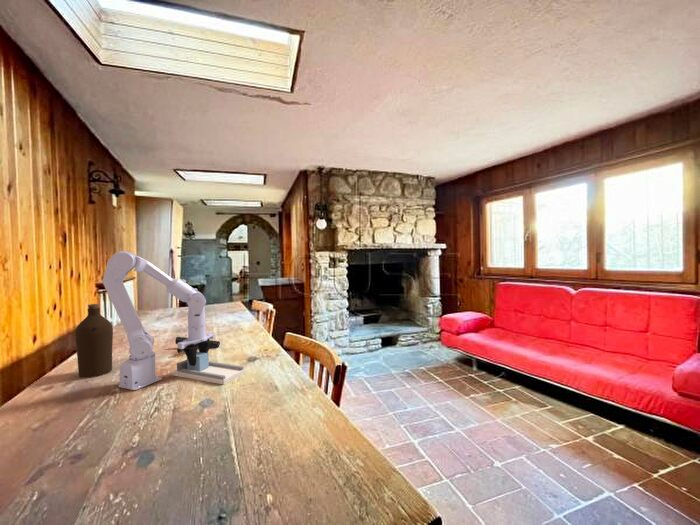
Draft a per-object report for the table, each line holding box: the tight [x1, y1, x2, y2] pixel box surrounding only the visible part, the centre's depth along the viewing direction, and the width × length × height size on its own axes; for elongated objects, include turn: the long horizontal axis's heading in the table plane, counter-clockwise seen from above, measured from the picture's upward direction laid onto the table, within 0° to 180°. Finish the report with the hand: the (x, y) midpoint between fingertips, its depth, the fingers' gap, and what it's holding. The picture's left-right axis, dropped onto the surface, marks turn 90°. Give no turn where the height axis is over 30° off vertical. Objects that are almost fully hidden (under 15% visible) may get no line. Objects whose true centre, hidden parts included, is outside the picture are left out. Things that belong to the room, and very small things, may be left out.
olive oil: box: [74, 303, 114, 378], centre depth 113 cm, size 11×11×25 cm
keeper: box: [186, 351, 210, 371], centre depth 112 cm, size 4×6×5 cm, turn 68°
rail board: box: [172, 359, 246, 385], centre depth 110 cm, size 10×23×4 cm, turn 69°
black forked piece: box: [174, 336, 221, 353], centre depth 138 cm, size 5×20×15 cm
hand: (197, 363), depth 112 cm, fingers closed on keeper, 4 cm apart
